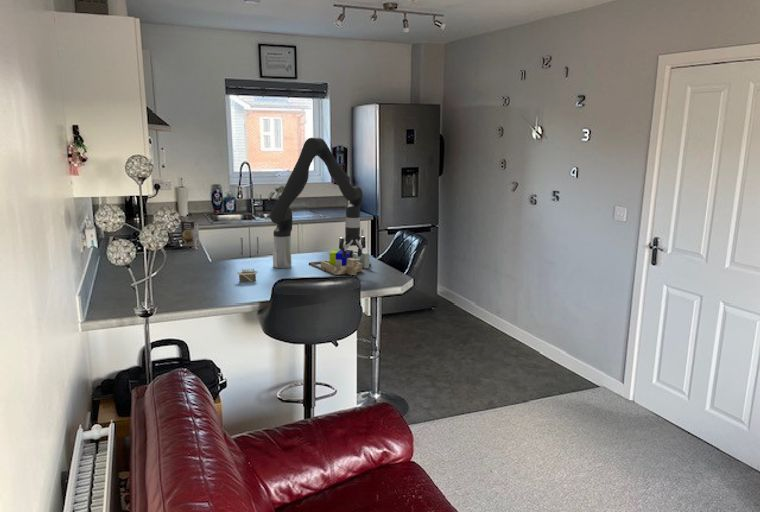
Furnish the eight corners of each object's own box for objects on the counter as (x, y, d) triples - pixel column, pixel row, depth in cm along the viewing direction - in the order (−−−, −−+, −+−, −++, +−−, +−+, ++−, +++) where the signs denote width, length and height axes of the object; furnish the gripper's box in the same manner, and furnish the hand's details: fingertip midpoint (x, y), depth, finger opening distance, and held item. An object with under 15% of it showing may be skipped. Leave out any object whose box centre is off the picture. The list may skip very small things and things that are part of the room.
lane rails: (323, 271, 298) (323, 269, 298) (308, 264, 314) (308, 262, 314) (371, 265, 313) (371, 263, 313) (354, 259, 329) (354, 257, 329)
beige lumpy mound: (340, 277, 285) (340, 261, 284) (320, 268, 305) (320, 253, 303) (367, 273, 294) (367, 258, 292) (346, 265, 313) (346, 250, 311)
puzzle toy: (347, 272, 296) (347, 253, 294) (329, 271, 298) (329, 252, 296) (352, 268, 305) (352, 250, 303) (334, 267, 307) (334, 249, 305)
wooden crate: (268, 284, 273) (267, 271, 272) (229, 286, 268) (229, 273, 266) (264, 278, 284) (264, 265, 283) (228, 280, 279) (227, 267, 277)
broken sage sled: (359, 268, 304) (359, 254, 302) (340, 261, 322) (340, 247, 321) (373, 267, 309) (374, 252, 307) (354, 259, 327) (354, 246, 325)
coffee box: (181, 246, 362) (180, 221, 358) (186, 244, 368) (185, 219, 365) (195, 246, 360) (193, 221, 357) (199, 244, 367) (198, 220, 363)
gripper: (343, 228, 279) (343, 259, 283) (368, 226, 287) (367, 257, 290) (336, 225, 285) (336, 256, 289) (361, 224, 293) (360, 254, 296)
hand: (352, 257), depth 289 cm, fingers open, 8 cm apart
